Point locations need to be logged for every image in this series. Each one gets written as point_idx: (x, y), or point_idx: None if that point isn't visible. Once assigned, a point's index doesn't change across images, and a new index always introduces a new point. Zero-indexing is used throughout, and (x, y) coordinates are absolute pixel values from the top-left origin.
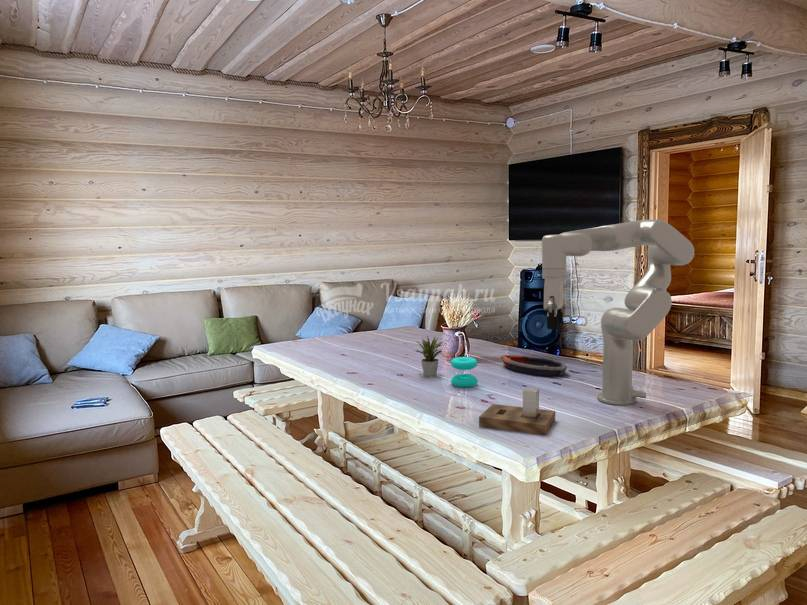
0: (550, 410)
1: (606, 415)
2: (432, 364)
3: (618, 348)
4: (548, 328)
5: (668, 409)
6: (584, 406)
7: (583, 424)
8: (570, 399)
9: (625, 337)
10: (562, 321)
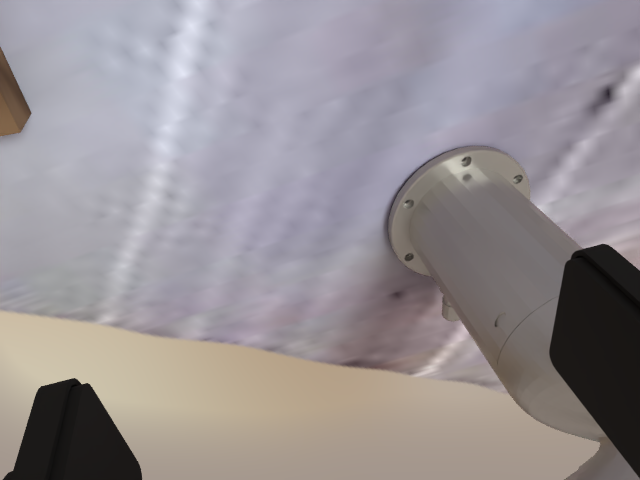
0: (7, 108)
1: (245, 248)
2: None
3: (530, 408)
4: (52, 398)
5: (405, 350)
6: (319, 143)
7: (76, 226)
8: (399, 50)
9: None
10: (573, 380)
